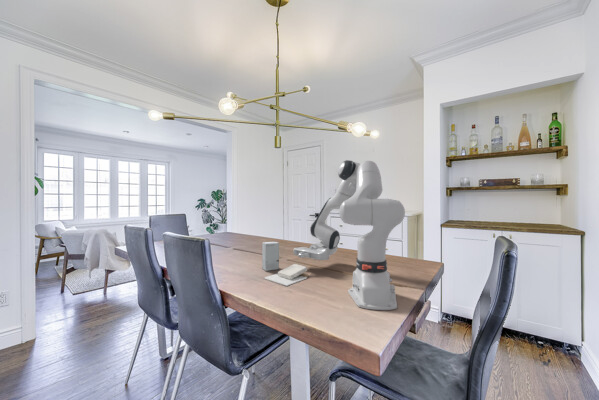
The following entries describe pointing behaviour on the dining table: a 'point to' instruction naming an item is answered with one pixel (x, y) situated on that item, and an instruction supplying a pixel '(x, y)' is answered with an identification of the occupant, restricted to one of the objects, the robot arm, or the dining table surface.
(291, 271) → the tile
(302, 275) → the rail
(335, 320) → the dining table surface
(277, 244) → the skincare box
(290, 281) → the mat
